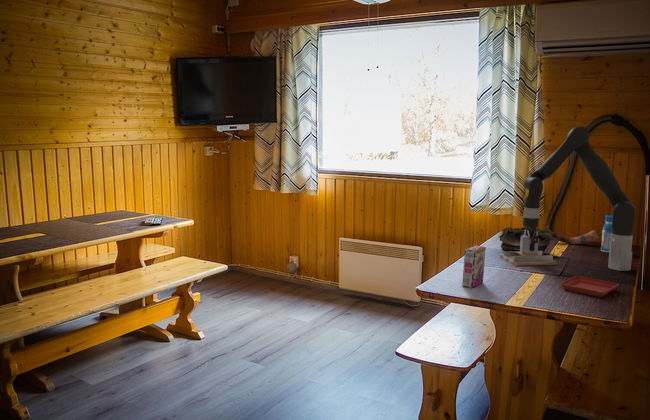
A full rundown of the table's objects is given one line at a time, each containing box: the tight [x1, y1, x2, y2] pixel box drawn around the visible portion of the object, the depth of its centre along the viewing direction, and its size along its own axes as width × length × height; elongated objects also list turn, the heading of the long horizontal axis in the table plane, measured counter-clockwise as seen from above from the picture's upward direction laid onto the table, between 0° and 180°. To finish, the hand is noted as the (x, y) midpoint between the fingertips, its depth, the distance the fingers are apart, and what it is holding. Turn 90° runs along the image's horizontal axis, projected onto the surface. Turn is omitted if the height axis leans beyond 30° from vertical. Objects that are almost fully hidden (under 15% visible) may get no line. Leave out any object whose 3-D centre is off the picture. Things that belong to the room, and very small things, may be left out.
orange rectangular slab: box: [517, 252, 540, 256], centre depth 284 cm, size 7×9×1 cm
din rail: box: [503, 250, 554, 261], centre depth 284 cm, size 11×21×2 cm, turn 99°
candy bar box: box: [461, 245, 486, 289], centre depth 240 cm, size 11×5×16 cm, turn 141°
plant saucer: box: [560, 275, 620, 298], centre depth 237 cm, size 18×18×3 cm
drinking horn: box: [545, 225, 599, 245], centre depth 327 cm, size 6×29×10 cm, turn 78°
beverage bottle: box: [600, 214, 613, 253], centre depth 309 cm, size 8×8×20 cm
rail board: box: [499, 254, 557, 267], centre depth 284 cm, size 16×22×2 cm
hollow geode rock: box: [498, 226, 555, 254], centre depth 306 cm, size 28×13×15 cm
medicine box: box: [519, 236, 539, 254], centre depth 283 cm, size 8×4×9 cm, turn 84°
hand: (528, 249), depth 283 cm, fingers closed on medicine box, 5 cm apart
